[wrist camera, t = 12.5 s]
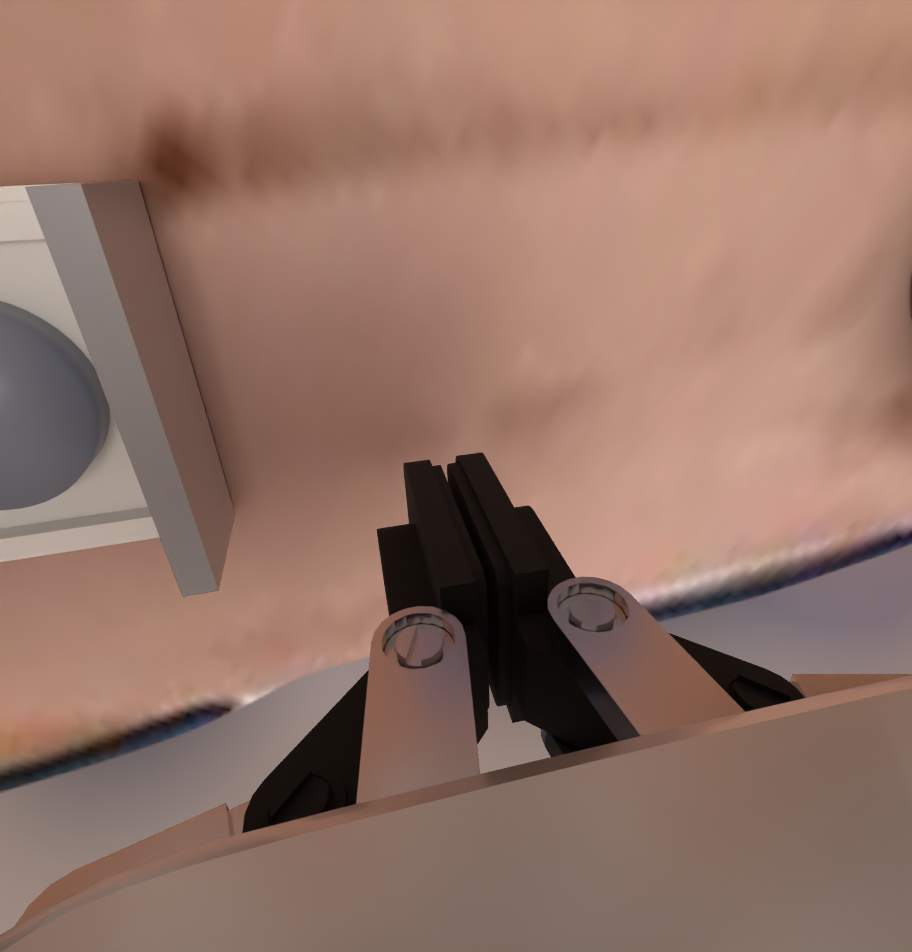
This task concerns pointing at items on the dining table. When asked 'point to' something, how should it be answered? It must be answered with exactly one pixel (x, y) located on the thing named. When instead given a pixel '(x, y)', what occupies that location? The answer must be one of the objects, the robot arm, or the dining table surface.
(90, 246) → the disc tray
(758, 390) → the dining table surface
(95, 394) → the game disc
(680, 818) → the robot arm
